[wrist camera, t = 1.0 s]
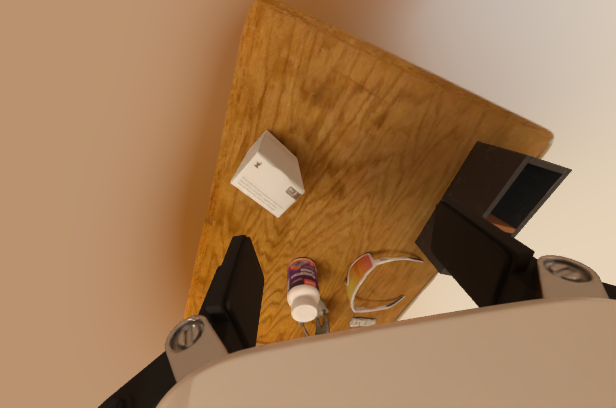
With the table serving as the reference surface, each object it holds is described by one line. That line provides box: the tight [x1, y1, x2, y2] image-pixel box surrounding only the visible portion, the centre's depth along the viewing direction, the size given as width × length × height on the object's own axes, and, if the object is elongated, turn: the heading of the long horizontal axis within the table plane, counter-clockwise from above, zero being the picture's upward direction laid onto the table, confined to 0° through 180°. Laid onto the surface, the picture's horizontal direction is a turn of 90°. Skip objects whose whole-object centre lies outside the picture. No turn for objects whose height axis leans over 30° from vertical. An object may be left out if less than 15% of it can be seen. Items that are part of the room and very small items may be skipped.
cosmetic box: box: [231, 130, 305, 218], centre depth 26 cm, size 6×4×12 cm
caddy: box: [415, 142, 572, 276], centre depth 34 cm, size 19×7×8 cm, turn 164°
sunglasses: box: [345, 253, 423, 313], centre depth 43 cm, size 14×15×5 cm
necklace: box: [349, 315, 379, 327], centre depth 50 cm, size 7×1×5 cm
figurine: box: [297, 298, 330, 337], centre depth 41 cm, size 11×6×15 cm, turn 159°
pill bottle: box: [287, 258, 320, 322], centre depth 37 cm, size 5×5×10 cm
